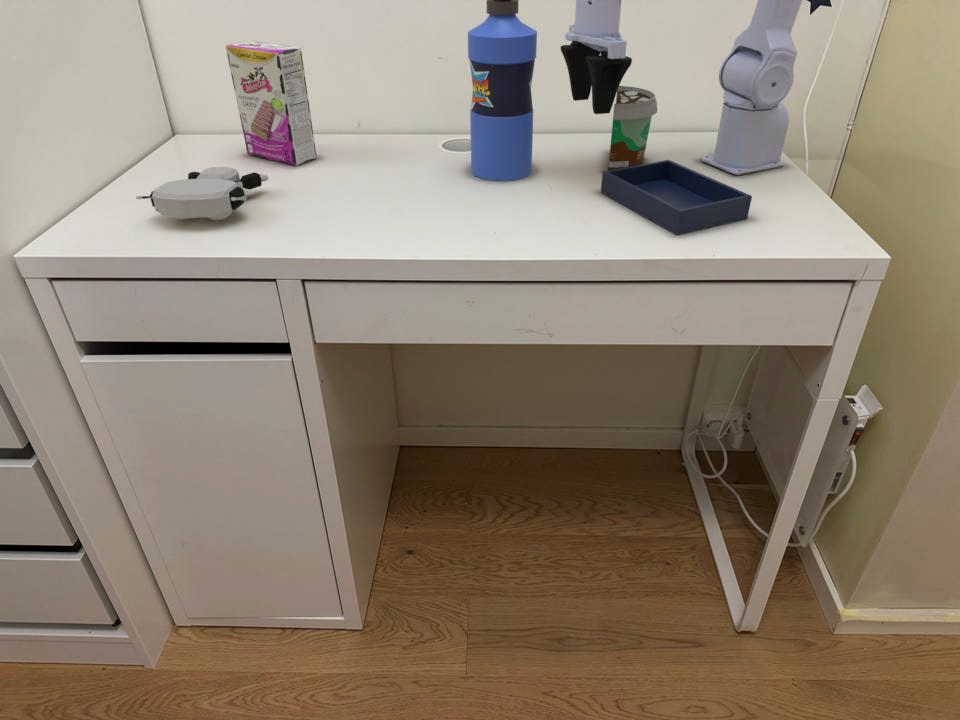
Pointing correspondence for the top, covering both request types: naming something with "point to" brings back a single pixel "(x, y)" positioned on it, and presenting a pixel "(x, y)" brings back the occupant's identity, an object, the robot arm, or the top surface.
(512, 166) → the water bottle
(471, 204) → the top surface
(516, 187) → the top surface
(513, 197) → the top surface
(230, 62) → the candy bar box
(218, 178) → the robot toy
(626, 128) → the food container
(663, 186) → the rectangular tray
